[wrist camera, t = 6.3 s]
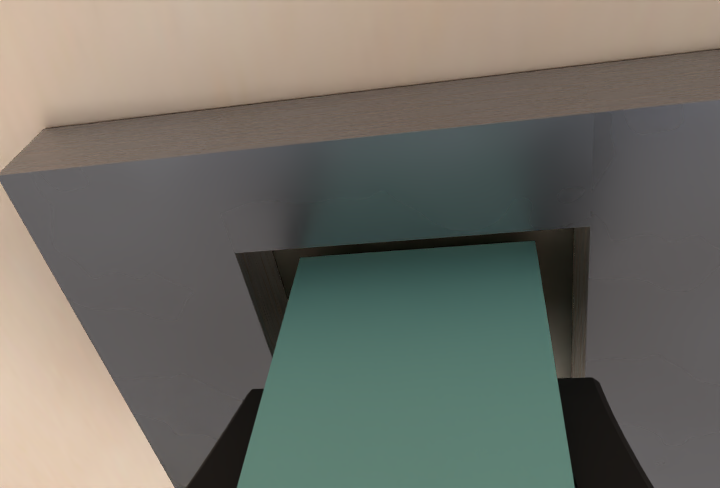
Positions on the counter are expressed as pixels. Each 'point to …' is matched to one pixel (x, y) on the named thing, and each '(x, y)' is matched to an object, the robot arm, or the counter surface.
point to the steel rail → (397, 232)
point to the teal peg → (413, 375)
